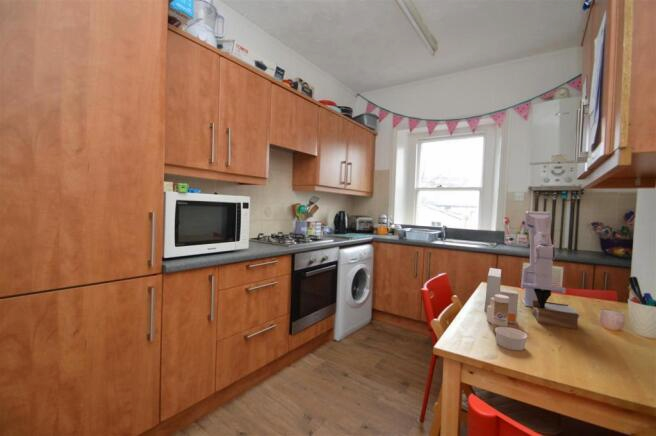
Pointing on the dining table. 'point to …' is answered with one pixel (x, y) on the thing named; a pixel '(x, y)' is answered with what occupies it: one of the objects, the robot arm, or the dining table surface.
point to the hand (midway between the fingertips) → (541, 307)
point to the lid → (560, 308)
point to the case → (554, 316)
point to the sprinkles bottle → (500, 311)
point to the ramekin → (510, 338)
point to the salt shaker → (490, 311)
